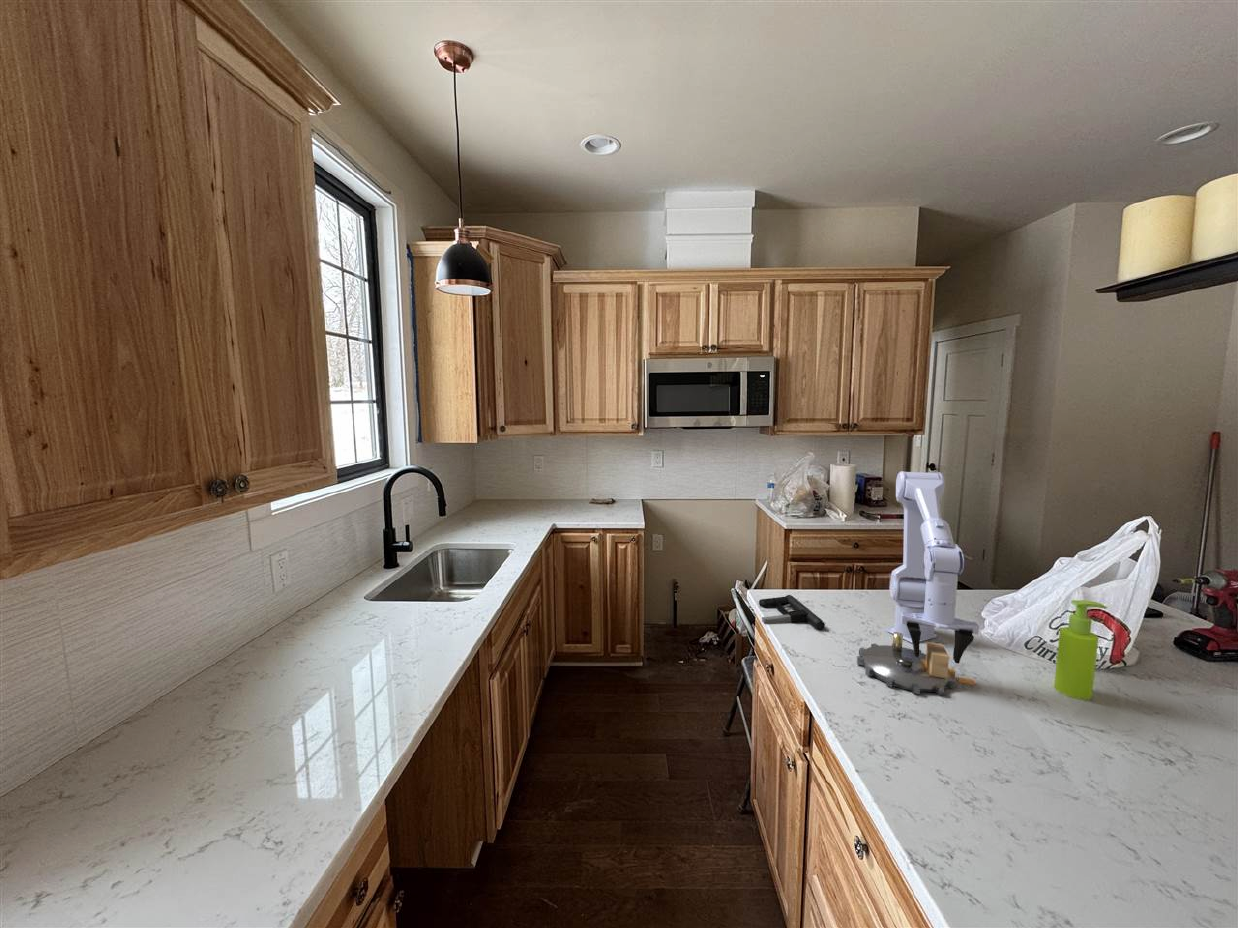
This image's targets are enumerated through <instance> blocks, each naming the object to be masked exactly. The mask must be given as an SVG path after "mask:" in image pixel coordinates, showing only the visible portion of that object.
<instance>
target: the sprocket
mask: <svg viewBox="0 0 1238 928" xmlns="http://www.w3.org/2000/svg"><path fill="white" fill-rule="evenodd" d="M903 640H904V639H903V634H902V633H899V632H894V633H893V634H892V643H891V645H886V644H884V645H882V644H881V645H879V644H878V643H871V645H870V647H868V648H863V647H860V648H859V649H858V656H856V664H857V665H858V666H862V667H863V668H864V670H865V671H864V672H865V675H866V676H867V677H874V678H876V679H878V680H879V681H882V682H884V683H885V686H887V687H889V688H890V689H891V688H893V687H897V688H900V689H904V690H908V691H911V692H912V694H915V695H920V693H936V694H937V695H939V696H941V695H944V692H945V689H947V688H950V689H954V690H955V689H956V687H957V680H956V679H955V678H956V671H955V669H953V668H948V675H947V678H941V677H935V676H931V674H930V672H929V670H928V667H927V665H926V653H924V652H922V650H921V649H919V657H915V655H914V649H912V648H907V647H903V642H904V641H903Z"/></svg>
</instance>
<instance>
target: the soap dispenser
mask: <svg viewBox="0 0 1238 928" xmlns="http://www.w3.org/2000/svg"><path fill="white" fill-rule="evenodd" d="M1070 603H1071V604H1072V605H1073V606H1075V613H1072V614H1069V618H1068V619H1069V620H1068V627H1067V626H1065V627H1064V626H1063V627H1060V629H1059V635H1058V643H1057V644H1058V645H1057V646H1058V647H1057V654H1056V655H1057V657H1056V665H1055V675H1054V684H1053V687H1054V689H1055V690H1056V691H1057V692H1059V693H1060V694H1062V695H1064V696H1068V697H1070V698H1073V699H1076V700H1077V699H1078V700H1087V701H1088V700H1091V699H1092V698H1093V688H1094V680H1095V670H1096V662H1097V653H1098V643H1099V636H1098V635H1096V634H1094V633H1093V632H1091V629H1092V618H1090V617H1089V616H1088V615H1087V613H1088V608H1100V609H1105V610H1106V609H1108V606H1106V605H1104V604H1102V603H1099V602H1097V601H1092V600H1082V599H1081V600H1077V599H1075V600H1074V599H1073V600H1071V601H1070Z"/></svg>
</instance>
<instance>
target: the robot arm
mask: <svg viewBox="0 0 1238 928" xmlns="http://www.w3.org/2000/svg"><path fill="white" fill-rule="evenodd" d="M945 487H946V481H945V477H944V475H943V474H942V473H941V472H938V471H937V472H920V471H919V472H917V471H913V472H912V471H904V470H903V471H899V472H898V474H897V476H896V480H895V498H896V501H897V503H900V504H902V507H903V548H902V549H903V554H902V555H903V556H902V557H903V558H902V561H903V562H902V563H903V564H902V565H900V566H898V567H896V568H895V569H893V570H892V571H891V574H890V580H889V595H890V598H891V599H892V600H893V601H895V607H894V625H893V627H891V628H886V629H885V630H886V632H887V633H889V634H892V635H893V633H894V632H899V633H902V634H903V640H904V641H907V642H909V643H911V644H912V648H913V649H912V650H914V655H915V657H919V650H920V642H925V641H927V640H931V639H936V638H937V637H938V635H937V634H935V628H937V629H941V630H945V631H946V630H952V631H954V647H953V653H952V659H953V661H954V663H955V664H960V662H961V659H962V656H963V654H964V653H965V651H966V649H967V648H968V647H969V645H970V644H972V643H973V641H974V635H979V633H980V625H979V624H978V623H977V622H976V621H969V620H964V619H960V618H956V605H957V603H956V602H957V592H958V579H959V575H961V574H962V573H963V571H964V567H965V559H964V554H963V550H962V549H961V548H960V547H959V545H958V544H957V543H955V541H954V538H953V534H952V531H951V528H950V525H949V523H948V522H947V521H945V520H944V519H942V513H941V508H940V507H941V506H940V500H941V499H942V496H943V494H944V493H945Z"/></svg>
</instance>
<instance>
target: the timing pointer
mask: <svg viewBox="0 0 1238 928" xmlns="http://www.w3.org/2000/svg"><path fill="white" fill-rule="evenodd" d="M957 681H958V682H959V683H963V684H969V685H976V681H975V679H972V678H965V677H960V676H957Z"/></svg>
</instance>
